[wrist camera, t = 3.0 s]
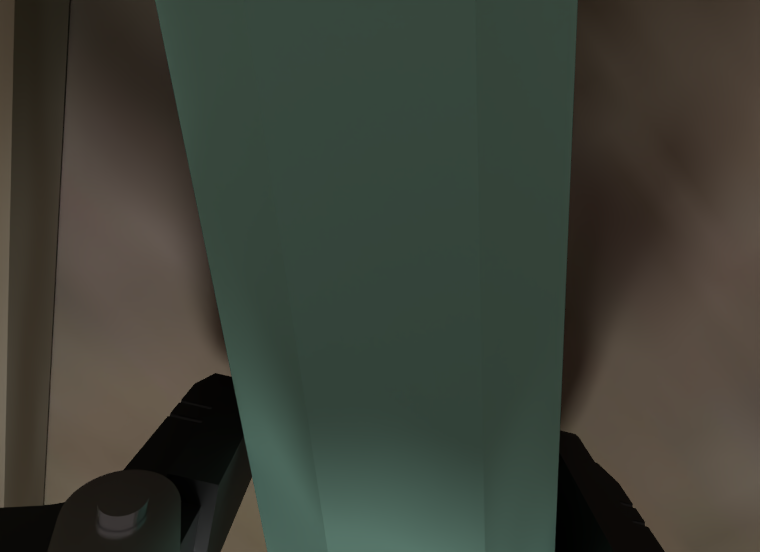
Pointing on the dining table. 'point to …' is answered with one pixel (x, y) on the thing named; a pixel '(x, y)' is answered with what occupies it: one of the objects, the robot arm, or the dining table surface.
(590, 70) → the dining table surface
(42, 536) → the robot arm
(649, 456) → the dining table surface
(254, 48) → the teal green cylinder
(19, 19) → the rail
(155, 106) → the dining table surface
